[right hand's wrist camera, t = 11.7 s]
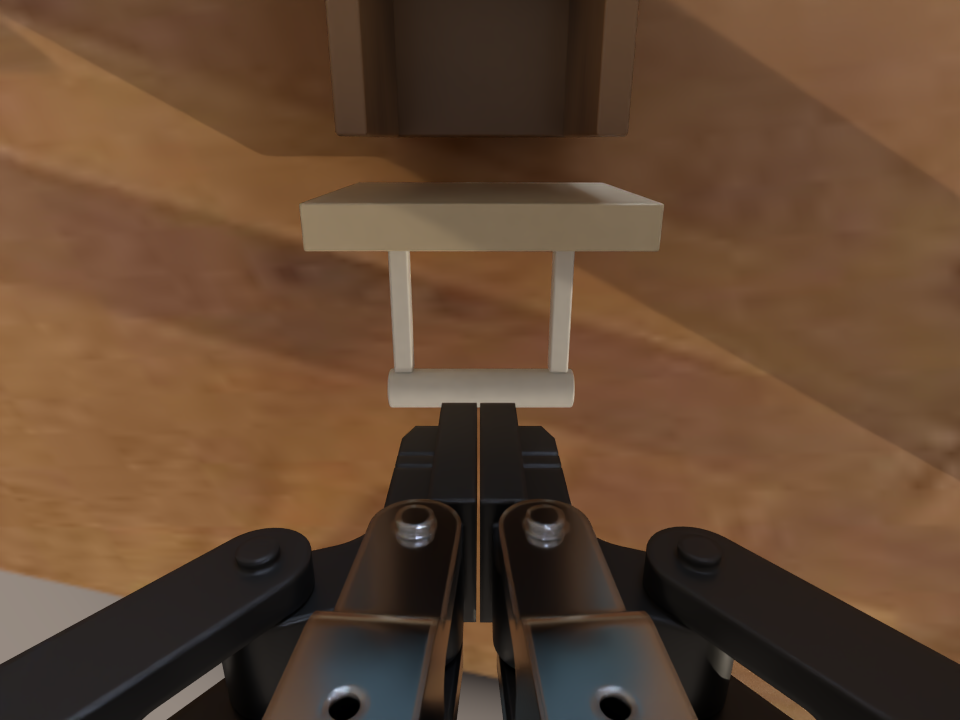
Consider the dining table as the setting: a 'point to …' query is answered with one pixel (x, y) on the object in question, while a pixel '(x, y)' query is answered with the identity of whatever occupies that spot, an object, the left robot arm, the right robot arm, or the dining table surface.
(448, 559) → the right robot arm
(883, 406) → the dining table surface
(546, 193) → the drawer
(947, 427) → the dining table surface
